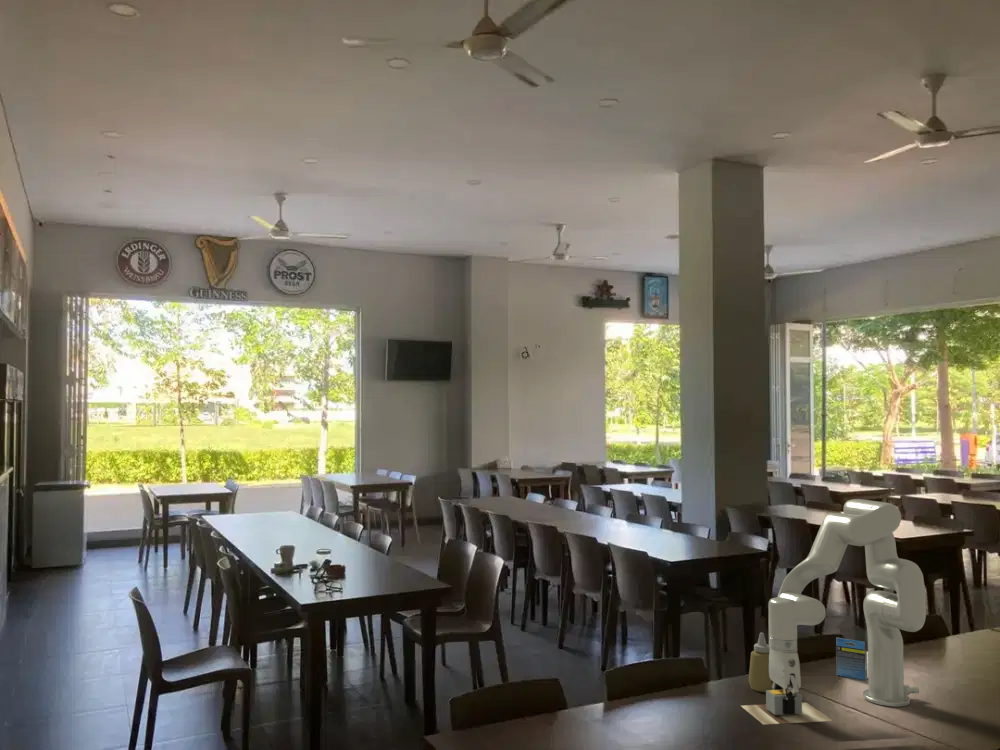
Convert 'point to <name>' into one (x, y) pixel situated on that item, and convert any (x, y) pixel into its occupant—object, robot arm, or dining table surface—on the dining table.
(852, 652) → the label tape box
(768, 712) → the board
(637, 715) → the dining table surface
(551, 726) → the dining table surface
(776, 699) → the grey block
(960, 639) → the dining table surface
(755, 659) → the squeeze bottle
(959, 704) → the dining table surface
